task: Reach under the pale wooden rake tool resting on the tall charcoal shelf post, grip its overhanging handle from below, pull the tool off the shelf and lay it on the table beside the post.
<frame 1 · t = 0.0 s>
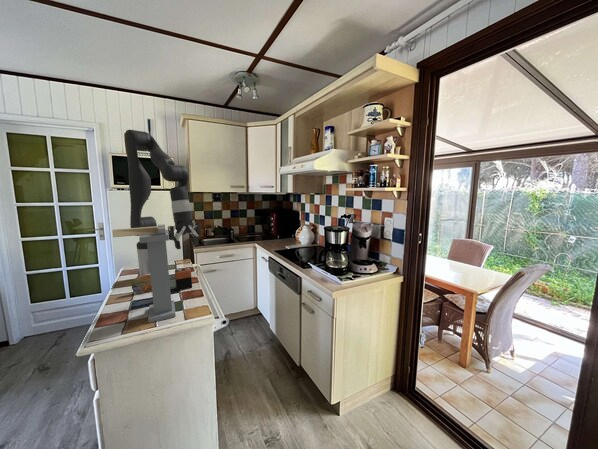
hand: (187, 247, 112), 22 cm above the countertop, tool pointing down, fingers open, 8 cm apart
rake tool: (140, 234, 92), point 32 cm above the countertop, touching shelf post
shelf post: (162, 312, 100), on the countertop
tin: (151, 291, 120), on the countertop
battery: (184, 288, 123), on the countertop
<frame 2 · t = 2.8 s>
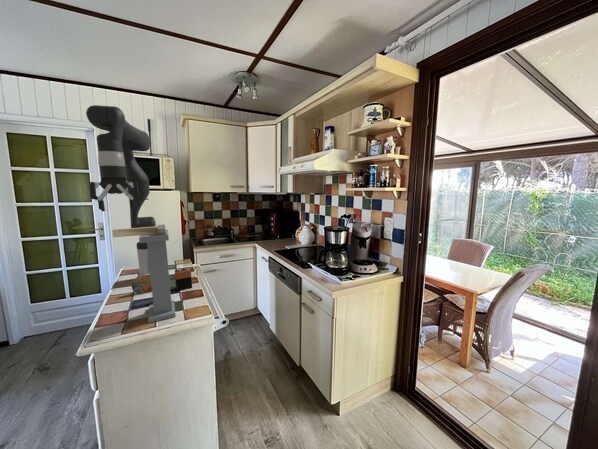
hand: (117, 210, 92), 41 cm above the countertop, tool pointing down, fingers open, 8 cm apart
nothing on the countertop moved.
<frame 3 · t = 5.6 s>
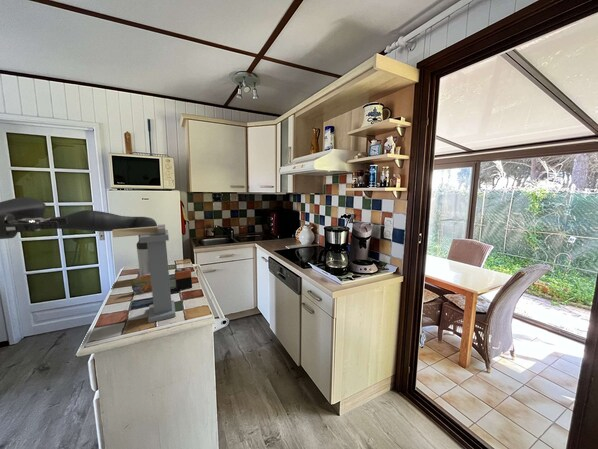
hand: (62, 222, 81), 38 cm above the countertop, tool horizontal, fingers open, 8 cm apart
nothing on the countertop moved.
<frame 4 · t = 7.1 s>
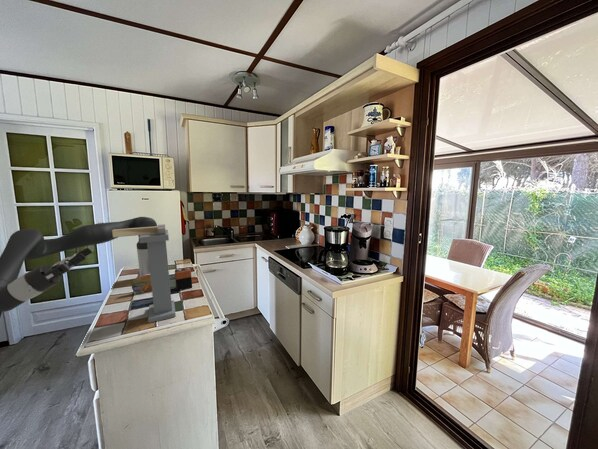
hand: (87, 252, 86), 27 cm above the countertop, tool pointing upward, fingers open, 8 cm apart
nothing on the countertop moved.
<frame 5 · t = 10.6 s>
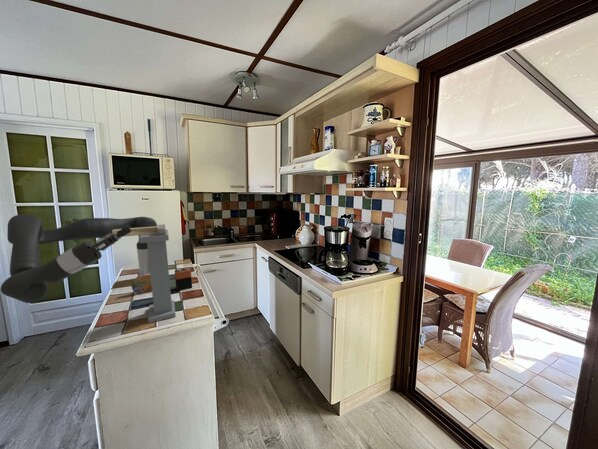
hand: (129, 228, 90), 35 cm above the countertop, tool pointing upward, fingers closed on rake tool, 2 cm apart
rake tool: (140, 234, 92), point 32 cm above the countertop, touching gripper, shelf post
everything else where it was.
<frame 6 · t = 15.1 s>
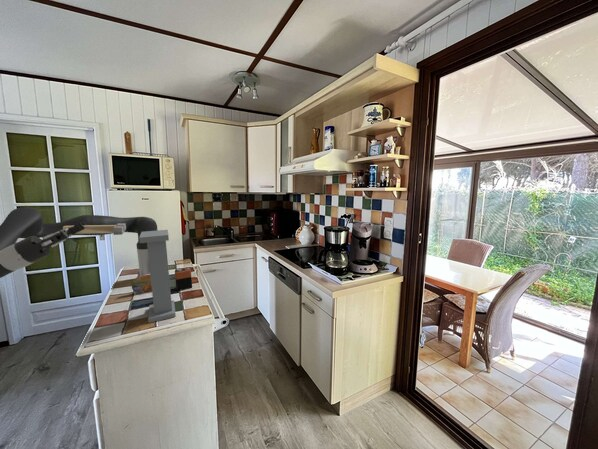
hand: (83, 225, 85), 37 cm above the countertop, tool pointing upward, fingers closed on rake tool, 2 cm apart
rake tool: (95, 232, 86), point 34 cm above the countertop, touching gripper
everything else where it was.
when the fingers open (8 cm above the countertop, at t = 19.9 s): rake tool drops 5 cm, on the countertop.
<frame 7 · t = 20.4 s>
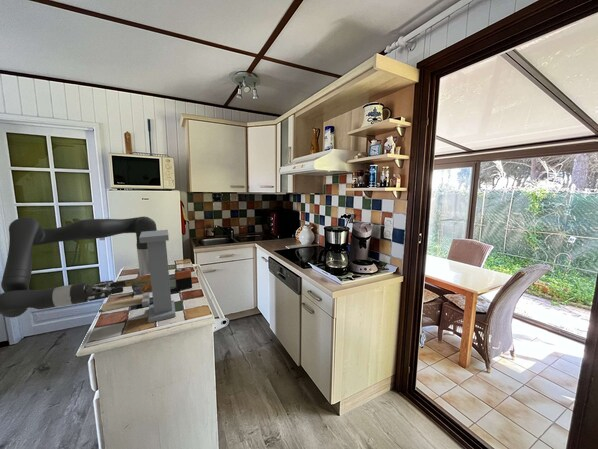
hand: (124, 286, 104), 9 cm above the countertop, tool horizontal, fingers open, 6 cm apart
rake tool: (126, 305, 106), on the countertop
everything else where it was.
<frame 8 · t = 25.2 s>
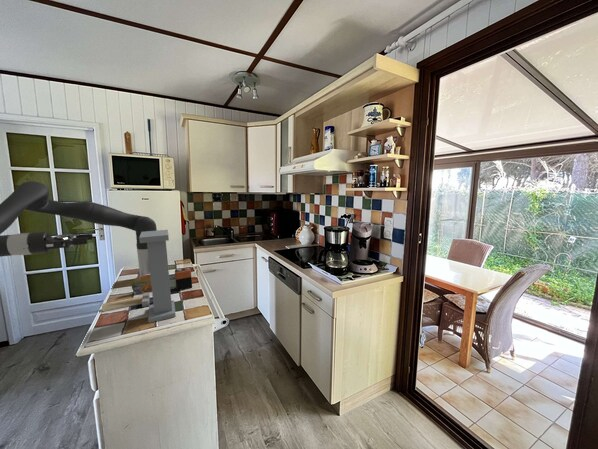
hand: (90, 238, 95), 30 cm above the countertop, tool horizontal, fingers open, 8 cm apart
nothing on the countertop moved.
at the end: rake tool on the countertop; the gripper is holding nothing; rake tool inside the target area (2.8 cm from its centre), on the countertop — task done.
